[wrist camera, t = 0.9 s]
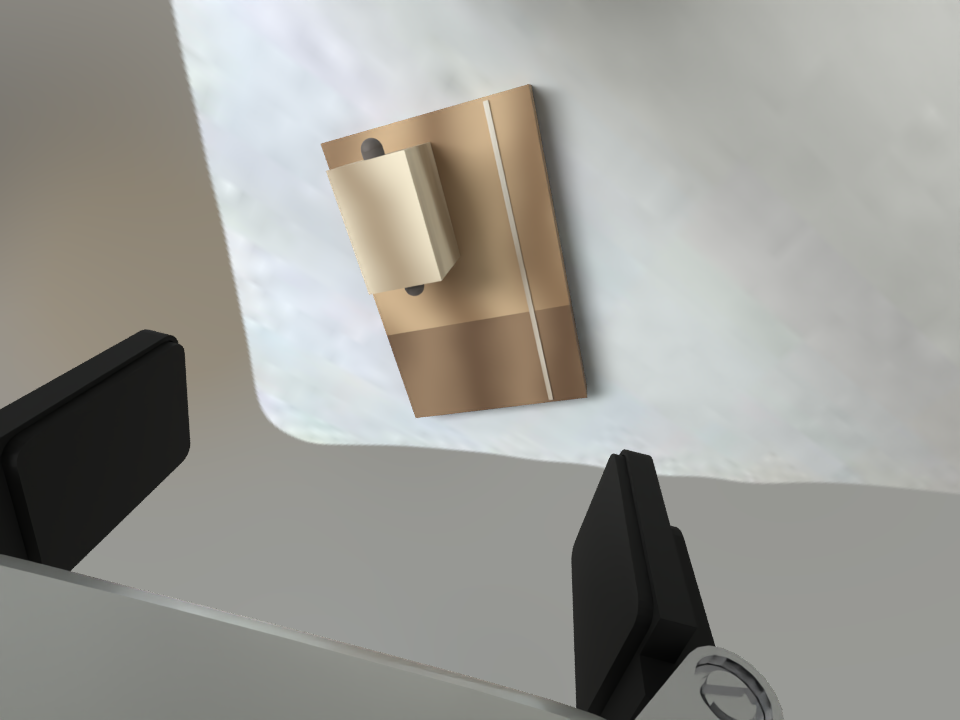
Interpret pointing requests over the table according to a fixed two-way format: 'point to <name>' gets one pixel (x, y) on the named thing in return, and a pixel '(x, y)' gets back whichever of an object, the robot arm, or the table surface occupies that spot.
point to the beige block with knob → (396, 217)
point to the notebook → (483, 265)
